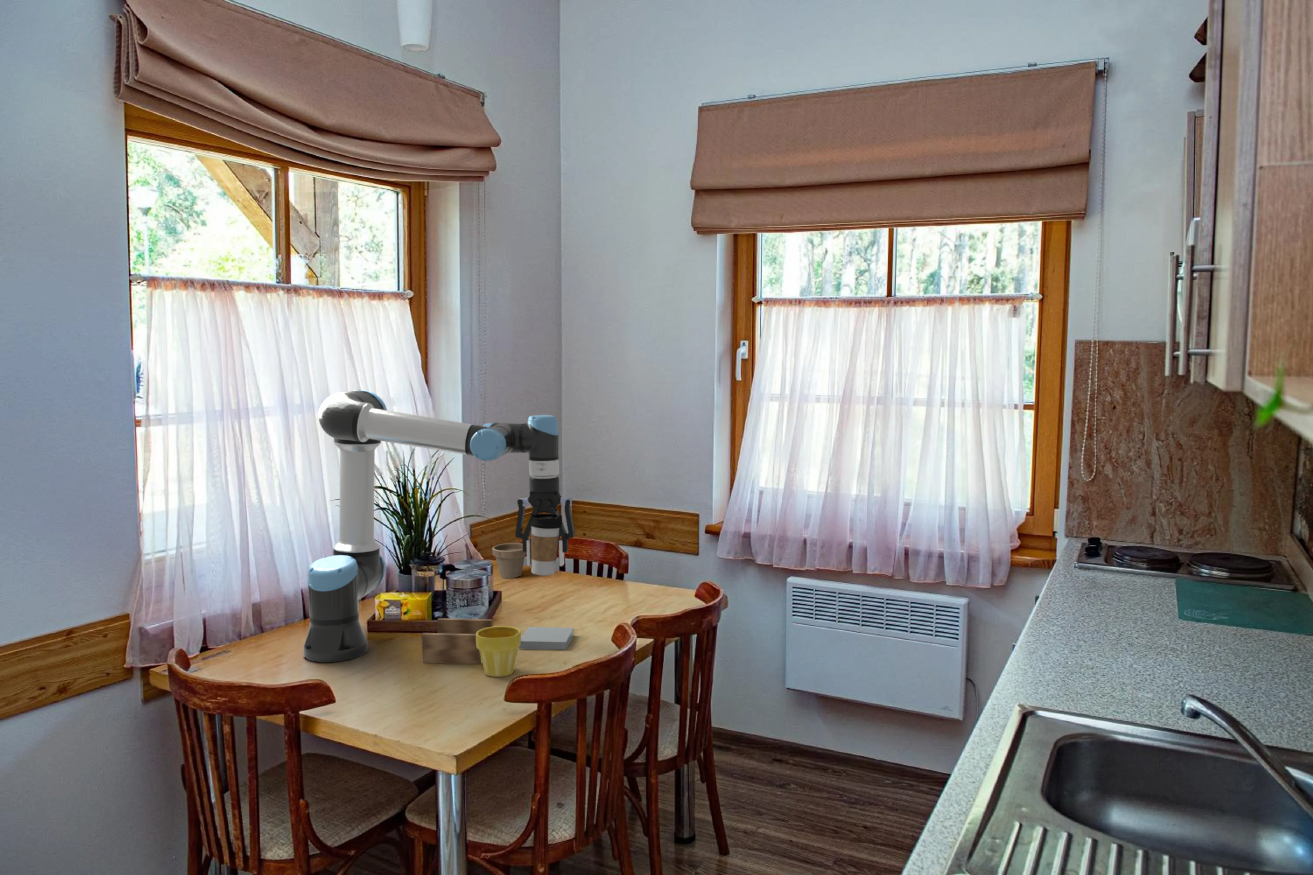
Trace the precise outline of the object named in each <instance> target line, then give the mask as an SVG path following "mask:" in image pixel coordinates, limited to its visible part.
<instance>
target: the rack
mask: <svg viewBox="0 0 1313 875" xmlns="http://www.w3.org/2000/svg"><path fill="white" fill-rule="evenodd" d="M436 623H437V633H435V632H422V634H421V649H422V650H421V651H422V653H421V654H422V655H421V656H422V658H421V660H422V663H424V664H425V663H426V664H429V663H430V664H431V663H432V664H461V665H462V664H463V665H464V664H469V665H470V664H471V665H473V664H474V665H478V664H479V665H480V664H482V659H481V655H480V651H479V649H477V647H476V632H477V631H479V630H481V629H483V628H487V627H493V626H494V624H493V623H494V622H493V619H492V618H490V619H489V618H446V617H445V618H444V617H441V618H440V617H438V618H437V620H436Z"/></svg>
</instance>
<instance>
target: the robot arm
mask: <svg viewBox="0 0 1313 875" xmlns="http://www.w3.org/2000/svg"><path fill="white" fill-rule="evenodd" d="M387 409H388V408H387V406H386V404H385V402H384V400H383V399H382V398H381V397H380V396H379V395H377V394H376V393H375V392H372V391H369V390H361V389H358V390H356V389H354V390H351V391H350V390H349V391H345V392H337V393H334V394H332V395H330V396H328V397H327V398H326V399H325V400H324V401H323V403H321V405H320V407H319V410H318V422H319V425H320V427H321V428H322V430H323V431H324V432H325V434H327V435H328V436H330V437H331V438H333V444H334V445H335V446H336V447H337V448H338V449H339V540H338V541H337V542H336V544H334V545H333V547H332V550H333V551H332V552H333V553H332V555H330V556H329V555H328V556H327V557H321V558H319V559H317V560H314V561H313V562H312V563H311V564H310V565H309V567H308V570H307V578H306V580H307V581H306V582H307V588H308V589H307V590H308V593H307V594H308V610H309V611H308V612H309V627H308V630H307V633H306V637H305V640H304V643H303V644H304V645H303V647H302V648H303V649H302V650H303V658H304V657H306V658H307V659H309V660H308V661H310V660H311V662H314V661H317V662H316V663H337V662H343V661H349V660H352V659H355V658H358V657H360V656H363V655H364V654H366V653H367V652H368V640H367V637H366V634H365V631H364V630H363V627H362V624H361V622H360V612H359V611H360V609H359V608H360V605H359V600H361V599H362V598H364V597H365V596H367V595H369V594H371V593H373V592H374V591H375V590H377V588H378V587H379V586H380V585H381V584H382V583H383V581H384V578H385V576H386V567H387V566H386V562H385V560H384V557H383V556H381V553H380V552H381V551H380V550H381V549H380V548H381V547H380V545H379V543H378V542H377V541H376V540H375V457H376V456H375V455H376V453H375V452H376V449H377V448H378V447H379V446H380V445H381V443H382V442H387V443H392V444H398V445H405V446H411V447H417V448H423V449H429V450H437V451H442V452H447V453H455V454H460V455H465V456H466V455H467V456H471V457H475V458H476V459H478V460H479V461H484V462H485V461H486V462H488V461H494V460H497V459H499V458H500V457H502V456H504V455H506V454H515V453H516V454H517V453H518V454H519V453H521V454H526V453H527V454H528V471H529V472H528V473H529V474H528V475H529V476H531V477H530V478H529V482H528V483H529V485H528V486H529V493H528V496H527V497H524V498H523V497H520V498H518V500H517V507H518V512H517V519H516V524H515V531H514V532H515V534H514V536H515V537H516V538H519V539H521V540H522V544H523V552H527V554H526V566H527V567H528V566H530V567H531V539H530V533H531V526H530V520H531V516H534V517H537V515H538V514H551V516H552V517H553V518H555V517H559V515H560V513H559V509H558V508H557V507H558V506H559V504H560V503H561V505H562V507H563V508H564V514H565V521H566V526H567V530H566V528H565V525H564V523H563V524H562V525H561V528H559V533H560V540H559V548H558V553H559V554H558V556H559V562H558V563H559V567H563V566H564V564H565V553H567V552H568V550H569V539H573V538H574V537H575V535H576V531H575V524H574V520H573V515H572V514H573V512H572V502H573V500H572V498H571V497H569V498H565V497H562V495H561V494H560V478H559V477H558V475H559V474H560V458H559V456H560V454H559V450H560V449H559V448H560V447H559V442H560V440H559V438H560V437H559V436H560V435H559V434H560V432H559V422H558V418H557V416H555V415H551V414H534V415H529V417H528V419H527V422H525V423H517V422H515V423H506V422H505V423H504V422H500V423H499V422H489V423H484V424H483V425H477V424H473V423H465V422H461V421H460V422H459V421H453V420H448V419H441V418H435V417H429V416H424V415H417V414H411V413H404V412H398V411H392V410H387ZM528 503H529V504H530V506H531V507H532V511H531V513H530V517H529V519H528V522H527V524H526V527H525V529H524V527H523V526H524V520H525V512H526V507H527V506H528ZM523 529H524V531H523ZM307 659H306V660H307Z"/></svg>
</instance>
